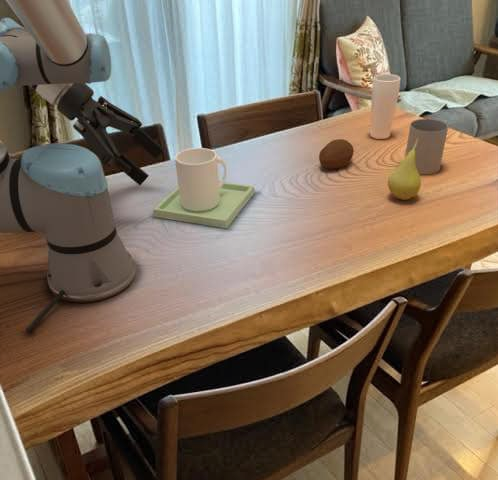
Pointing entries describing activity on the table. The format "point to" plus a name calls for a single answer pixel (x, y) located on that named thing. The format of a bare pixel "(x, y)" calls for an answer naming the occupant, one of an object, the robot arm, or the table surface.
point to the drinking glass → (383, 104)
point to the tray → (220, 216)
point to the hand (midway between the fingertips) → (152, 166)
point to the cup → (427, 144)
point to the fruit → (405, 178)
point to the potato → (336, 154)
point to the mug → (199, 178)
